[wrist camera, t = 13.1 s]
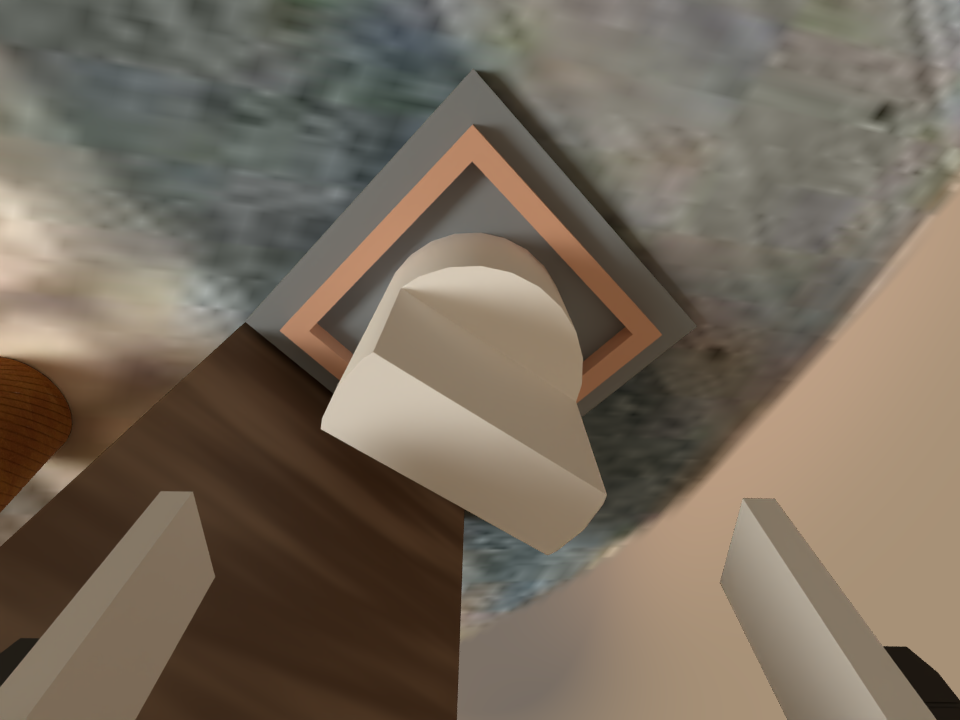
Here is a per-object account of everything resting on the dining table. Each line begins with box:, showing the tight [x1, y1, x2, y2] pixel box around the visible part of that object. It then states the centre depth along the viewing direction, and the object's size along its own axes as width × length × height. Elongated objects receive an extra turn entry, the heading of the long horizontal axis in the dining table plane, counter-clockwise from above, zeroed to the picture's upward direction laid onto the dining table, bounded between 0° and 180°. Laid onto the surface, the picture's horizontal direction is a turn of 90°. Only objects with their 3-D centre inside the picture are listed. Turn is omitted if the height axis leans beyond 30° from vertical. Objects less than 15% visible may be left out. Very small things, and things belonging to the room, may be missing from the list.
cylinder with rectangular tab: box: [321, 233, 607, 555], centre depth 22 cm, size 9×9×12 cm
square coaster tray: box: [245, 69, 697, 417], centre depth 28 cm, size 16×16×2 cm
